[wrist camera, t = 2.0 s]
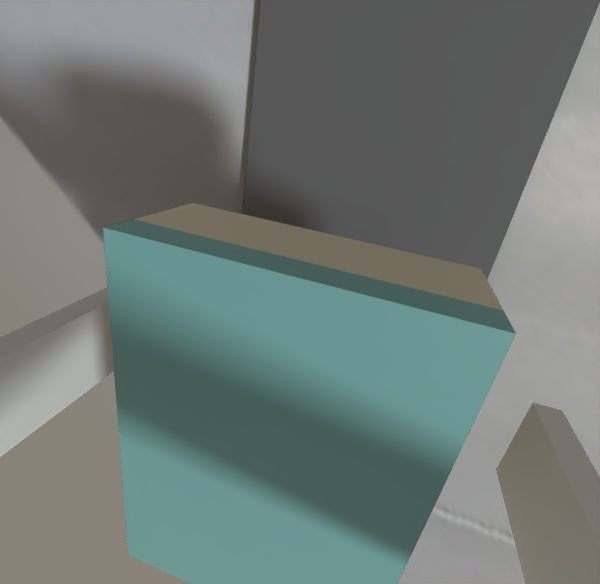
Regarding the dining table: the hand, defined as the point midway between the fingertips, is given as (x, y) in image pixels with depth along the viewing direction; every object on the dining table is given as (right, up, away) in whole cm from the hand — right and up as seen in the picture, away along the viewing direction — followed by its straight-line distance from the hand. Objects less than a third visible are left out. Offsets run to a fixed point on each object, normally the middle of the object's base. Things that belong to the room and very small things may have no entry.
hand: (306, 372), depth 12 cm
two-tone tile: (0, 0, -1) cm, 1 cm away
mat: (+4, +10, +5) cm, 12 cm away
